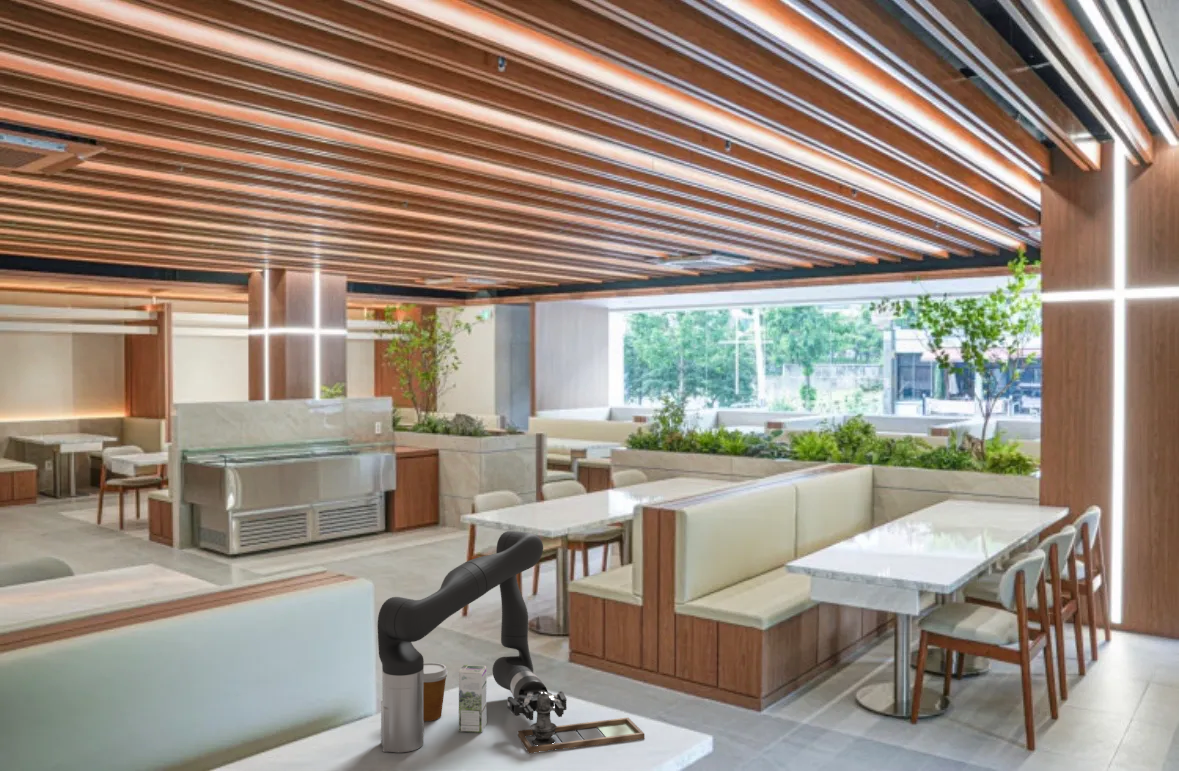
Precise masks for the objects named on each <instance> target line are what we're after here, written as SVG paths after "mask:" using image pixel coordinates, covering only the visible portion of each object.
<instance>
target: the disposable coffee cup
mask: <svg viewBox="0 0 1179 771" xmlns="http://www.w3.org/2000/svg"><path fill="white" fill-rule="evenodd" d="M448 674H449V670H447V666H446V665H445V664H443V663H438V662H424V714H423V722H431V721H436V720H438V718H439V719H440V718H441V717H442V714H443V712H442V711H443V704H444V697H445V696H444V695H445V689H446V679H447V677H448Z"/></svg>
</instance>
